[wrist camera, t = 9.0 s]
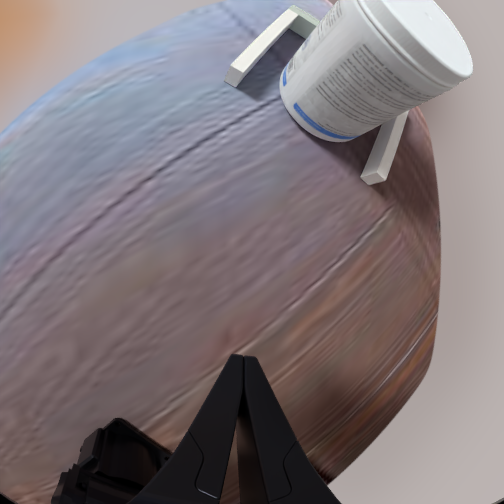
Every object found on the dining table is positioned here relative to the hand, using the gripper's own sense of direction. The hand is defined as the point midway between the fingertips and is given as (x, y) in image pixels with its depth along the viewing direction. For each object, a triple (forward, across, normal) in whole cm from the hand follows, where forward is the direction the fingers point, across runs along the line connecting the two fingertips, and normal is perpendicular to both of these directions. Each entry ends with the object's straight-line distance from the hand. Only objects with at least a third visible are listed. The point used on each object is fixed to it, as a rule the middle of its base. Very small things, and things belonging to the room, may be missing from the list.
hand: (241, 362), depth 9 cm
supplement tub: (+22, -5, -9) cm, 25 cm away
